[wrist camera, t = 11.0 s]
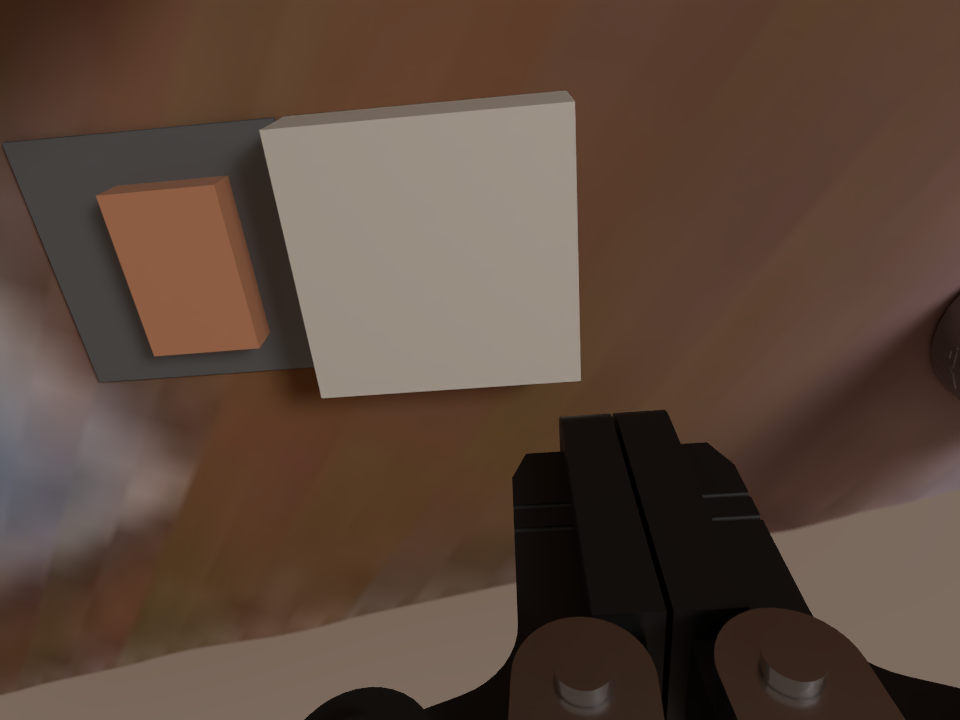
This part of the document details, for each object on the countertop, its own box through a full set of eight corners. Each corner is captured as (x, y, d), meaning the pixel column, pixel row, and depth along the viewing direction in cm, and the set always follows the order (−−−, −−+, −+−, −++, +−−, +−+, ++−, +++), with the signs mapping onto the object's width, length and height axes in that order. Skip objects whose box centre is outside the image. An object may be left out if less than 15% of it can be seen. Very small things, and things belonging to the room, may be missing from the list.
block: (95, 195, 33) (115, 185, 35) (154, 356, 37) (169, 340, 39) (213, 184, 33) (228, 175, 35) (259, 348, 37) (270, 332, 39)
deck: (566, 90, 33) (574, 101, 29) (572, 346, 39) (580, 380, 36) (283, 116, 33) (259, 130, 30) (336, 363, 40) (321, 398, 36)
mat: (274, 117, 34) (272, 118, 33) (328, 363, 40) (327, 366, 40) (5, 142, 34) (1, 143, 34) (102, 379, 41) (99, 382, 41)
